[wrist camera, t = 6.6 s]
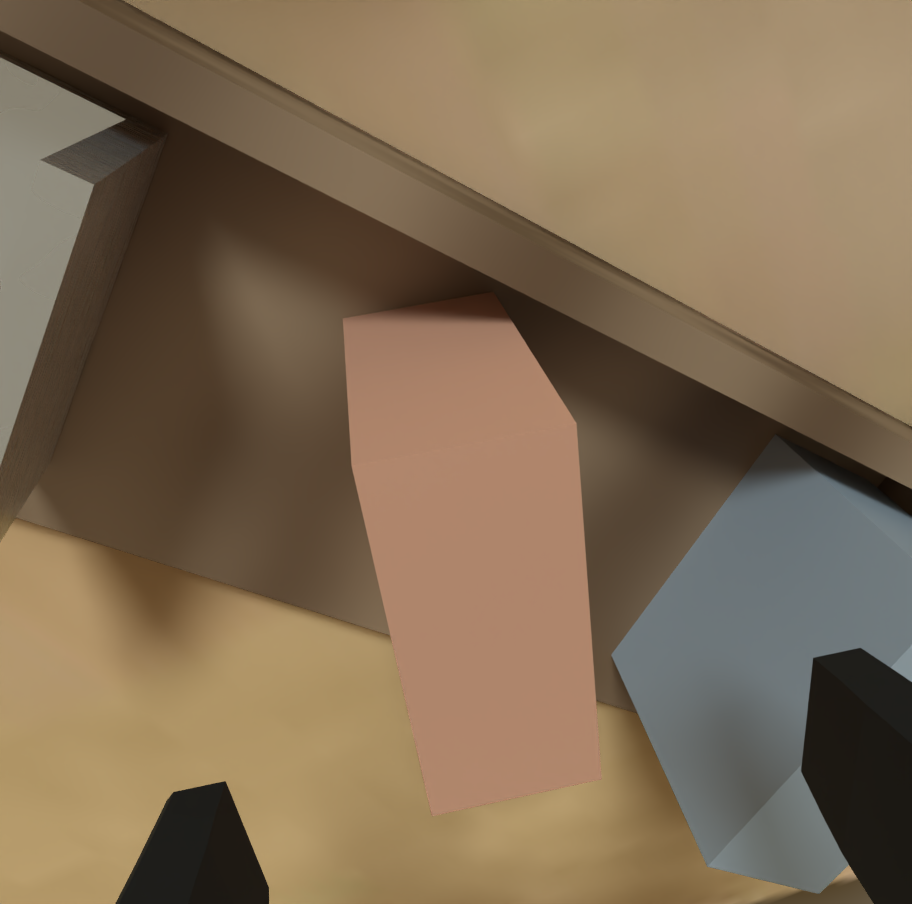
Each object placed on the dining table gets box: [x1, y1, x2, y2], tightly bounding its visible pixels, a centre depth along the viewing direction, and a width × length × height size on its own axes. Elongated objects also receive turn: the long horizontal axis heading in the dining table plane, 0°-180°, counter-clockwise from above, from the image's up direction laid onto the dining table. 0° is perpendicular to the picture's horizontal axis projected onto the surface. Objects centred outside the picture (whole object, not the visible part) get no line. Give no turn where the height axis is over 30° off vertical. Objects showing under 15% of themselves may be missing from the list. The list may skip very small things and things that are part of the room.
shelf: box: [0, 0, 912, 713], centre depth 16 cm, size 24×10×4 cm, turn 62°
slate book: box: [611, 434, 912, 894], centre depth 17 cm, size 3×7×6 cm, turn 152°
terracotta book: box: [343, 292, 602, 816], centre depth 15 cm, size 3×7×6 cm, turn 8°
